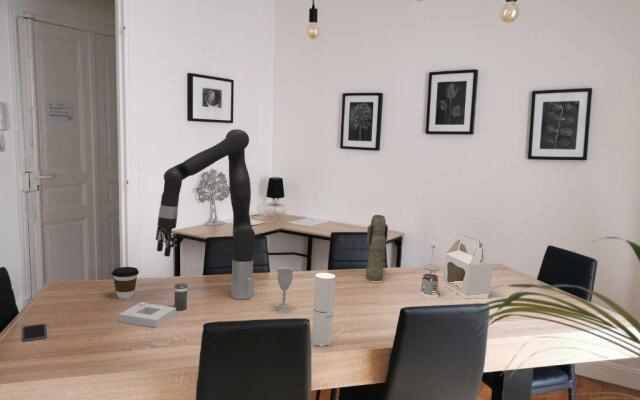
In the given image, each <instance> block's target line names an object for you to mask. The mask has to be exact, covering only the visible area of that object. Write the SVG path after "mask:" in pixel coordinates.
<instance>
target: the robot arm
mask: <svg viewBox="0 0 640 400" xmlns="http://www.w3.org/2000/svg"><path fill="white" fill-rule="evenodd" d="M249 143H250V136H249V134H248V133H247V132H246V131H245V130H243V129H237V128H236V129H231V130H229V131H228V132H227V134H225V138H224V139H222V140H221V141H220V142H218V143H216V144H214V145H213V146H211V147H209V148H207V149H204V150H202V151H200V152H198V153H196V154H194V155H193V156H190V157H188V158H187V159H186V160H184V161H183V162H181V163H177V164H176V165H174V166H172V167H170V168H169V169H167V170H166V171H165V172H164V174H163V180H164V182H163V183H164V184H163V192H162V194H161V200H160V206H159V210H158V217H157V225H156V226H157V228H156V236H155V240H156V241H157V246H156V252H163V248H164V254H163V255H164V257H170V256H171V251H172V248H174V246H175V239H176V238H175V237H176V233H175V232H173V229H176V227H177V223H178V222H177V221H178V213H179V201H180V193H181V189H182V185H183V180H186V179H187V178H188V177H191V176H194V175H197V174H198V173H200V172H201V171H204V170H205V169H207V168H208V167H210V166H211V165H213V164H215V163H216V162H218V161H220V160H222V159H223V158H225V157H228V158H227V159H228V184H229V196H230V202H231V203H230V204H231V208H232V217H233V218H232V237H233V251H232V260H231V261H232V264H231V265H232V266H231V267H232V269H231V270H232V271H231V289H230V290H231V291H230V292H231V293H230V294H231V296H230V297H231V298H232V299H235V300H249V299H251V298H252V297H253V296H254V288H255V287H254V286H255V285H254V283H255V282H254V281H255V275H253V270H254V269H253V268H254V256H255V250H256V249H255V246H256V233H255V230H254V229H253V228H252V223H251V217H250V207H251V201H252V200H251V199H252V198H251V197H252V189H251V178H250V174H249V170H248V167H247V165H246V157H245V156H246V150H245V149H246V148H248V146H249ZM164 246H165V247H164Z"/></svg>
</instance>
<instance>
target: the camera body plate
mask: <svg viewBox="0 0 640 400" xmlns="http://www.w3.org/2000/svg"><path fill="white" fill-rule="evenodd" d="M175 316H177V310H176V308H174V306H166V305H160V304H153V303H148V302H144V301H141V302H139V303H137V304H135V305H133V306H131V307H129V308H128V309H126V310H124V311H122V312H120V313H118V322H119V323H124V324H131V325H136V326H143V327H149V328H158V327H160V326H161V325H163V324H165V323H167V321H168V322H169V320H171V319H172V318H174V317H175Z"/></svg>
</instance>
